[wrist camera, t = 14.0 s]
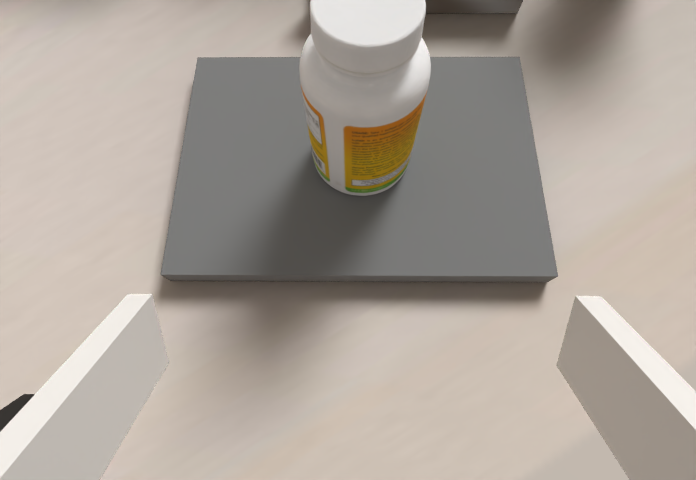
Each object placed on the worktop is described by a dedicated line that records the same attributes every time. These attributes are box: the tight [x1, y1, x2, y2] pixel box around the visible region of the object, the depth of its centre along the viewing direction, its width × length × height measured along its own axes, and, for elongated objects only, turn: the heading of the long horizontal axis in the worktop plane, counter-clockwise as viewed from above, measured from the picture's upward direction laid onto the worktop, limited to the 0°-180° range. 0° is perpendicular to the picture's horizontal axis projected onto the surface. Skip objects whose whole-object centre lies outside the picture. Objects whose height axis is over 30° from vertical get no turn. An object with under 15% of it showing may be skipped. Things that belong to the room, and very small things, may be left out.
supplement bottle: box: [299, 0, 431, 196], centre depth 18 cm, size 5×5×10 cm
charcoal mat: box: [161, 57, 558, 282], centre depth 24 cm, size 20×14×1 cm
